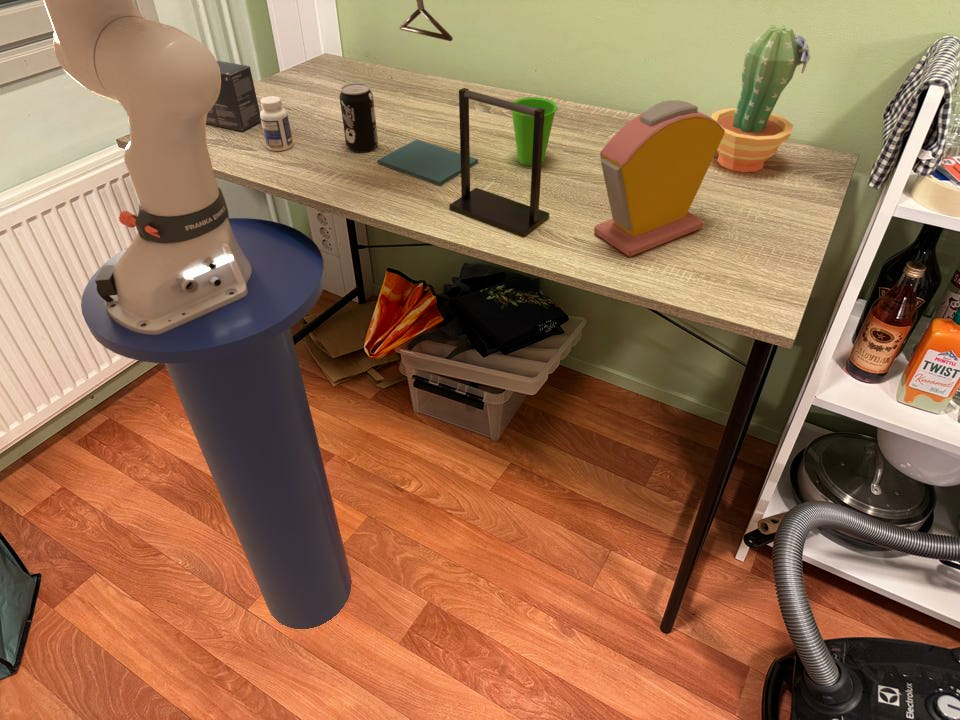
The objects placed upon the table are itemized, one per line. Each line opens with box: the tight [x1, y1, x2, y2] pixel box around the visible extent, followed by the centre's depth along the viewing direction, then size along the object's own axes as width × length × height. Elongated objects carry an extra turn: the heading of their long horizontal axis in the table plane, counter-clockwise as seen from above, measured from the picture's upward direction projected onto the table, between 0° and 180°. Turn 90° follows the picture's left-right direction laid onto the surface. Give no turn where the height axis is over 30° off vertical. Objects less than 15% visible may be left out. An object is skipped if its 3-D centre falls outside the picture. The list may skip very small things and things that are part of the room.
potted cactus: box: [710, 24, 811, 173], centre depth 127 cm, size 15×15×25 cm
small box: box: [206, 60, 261, 132], centre depth 147 cm, size 13×7×12 cm, turn 65°
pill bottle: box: [260, 95, 294, 152], centre depth 138 cm, size 5×5×10 cm
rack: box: [448, 87, 550, 238], centre depth 113 cm, size 8×16×20 cm, turn 53°
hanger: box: [398, 0, 454, 42], centre depth 115 cm, size 3×12×10 cm, turn 53°
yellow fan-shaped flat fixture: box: [593, 99, 725, 258], centre depth 108 cm, size 22×9×22 cm, turn 123°
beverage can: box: [339, 82, 379, 153], centre depth 137 cm, size 7×7×12 cm
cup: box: [511, 96, 558, 167], centre depth 132 cm, size 9×9×11 cm
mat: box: [377, 139, 479, 187], centre depth 135 cm, size 12×16×1 cm
